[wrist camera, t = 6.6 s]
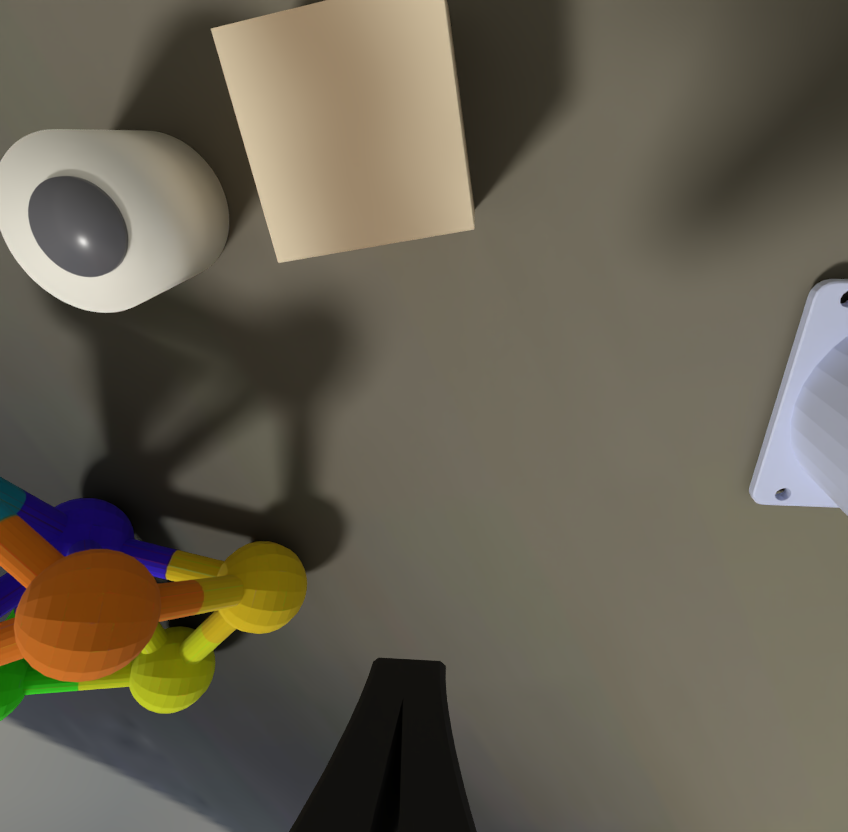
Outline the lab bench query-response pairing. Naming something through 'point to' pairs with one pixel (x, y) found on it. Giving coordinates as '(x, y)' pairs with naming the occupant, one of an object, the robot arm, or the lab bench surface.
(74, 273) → the offwhite stopper
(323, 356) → the lab bench surface
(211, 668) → the molecular model
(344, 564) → the lab bench surface
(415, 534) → the lab bench surface
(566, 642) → the lab bench surface
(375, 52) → the beech block
